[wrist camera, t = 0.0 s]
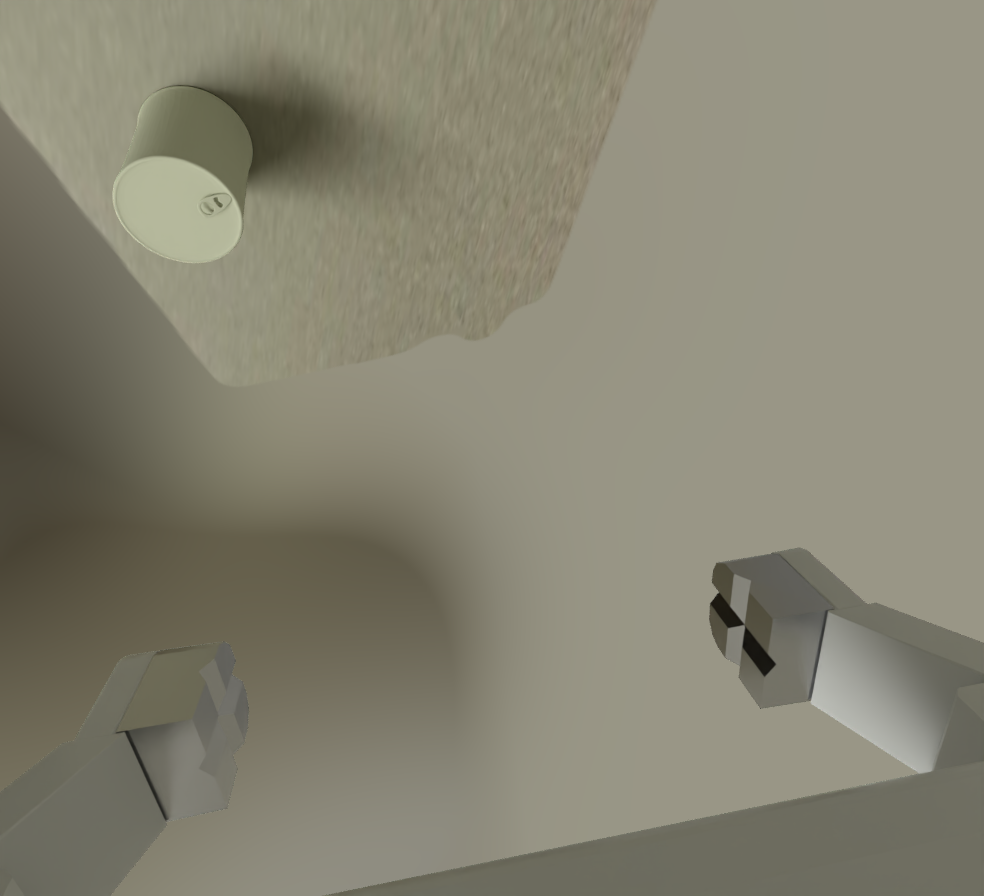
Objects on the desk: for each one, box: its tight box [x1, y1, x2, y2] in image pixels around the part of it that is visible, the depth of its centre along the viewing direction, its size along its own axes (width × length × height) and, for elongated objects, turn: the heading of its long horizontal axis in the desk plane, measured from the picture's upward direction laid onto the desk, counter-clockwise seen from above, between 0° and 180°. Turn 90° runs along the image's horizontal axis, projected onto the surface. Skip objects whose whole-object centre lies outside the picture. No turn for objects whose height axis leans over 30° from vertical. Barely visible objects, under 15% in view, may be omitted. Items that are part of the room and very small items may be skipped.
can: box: [113, 86, 253, 263], centre depth 51 cm, size 9×9×12 cm
